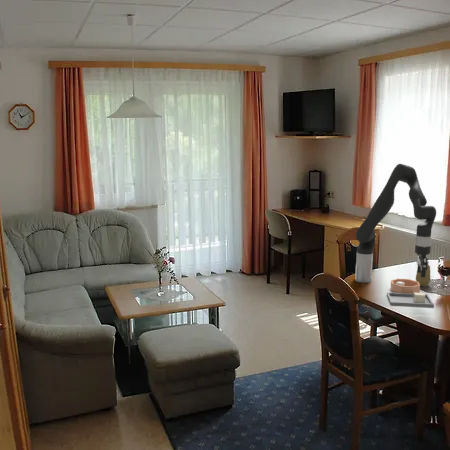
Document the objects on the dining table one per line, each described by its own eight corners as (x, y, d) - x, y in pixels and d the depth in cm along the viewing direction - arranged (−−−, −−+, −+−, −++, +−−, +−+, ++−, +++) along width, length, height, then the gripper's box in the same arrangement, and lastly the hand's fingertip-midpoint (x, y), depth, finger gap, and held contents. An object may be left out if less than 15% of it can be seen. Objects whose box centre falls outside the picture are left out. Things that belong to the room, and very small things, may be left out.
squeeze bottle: (429, 283, 297) (431, 254, 294) (430, 288, 290) (432, 257, 286) (415, 282, 300) (417, 253, 297) (415, 286, 292) (417, 256, 289)
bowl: (393, 294, 279) (393, 285, 278) (389, 286, 293) (389, 278, 292) (421, 296, 276) (421, 287, 275) (415, 287, 290) (416, 279, 289)
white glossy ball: (396, 290, 283) (396, 283, 282) (395, 288, 287) (395, 281, 287) (404, 290, 282) (405, 284, 282) (403, 288, 287) (403, 281, 286)
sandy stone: (414, 302, 265) (415, 294, 264) (413, 299, 268) (413, 292, 268) (424, 302, 264) (425, 295, 263) (423, 300, 268) (423, 292, 267)
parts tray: (390, 305, 261) (390, 302, 261) (386, 295, 277) (386, 292, 276) (433, 308, 258) (434, 304, 257) (427, 297, 273) (427, 294, 273)
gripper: (412, 241, 268) (411, 270, 271) (418, 247, 254) (416, 278, 257) (427, 241, 267) (425, 271, 270) (433, 247, 253) (431, 279, 256)
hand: (421, 274), depth 263 cm, fingers open, 8 cm apart
